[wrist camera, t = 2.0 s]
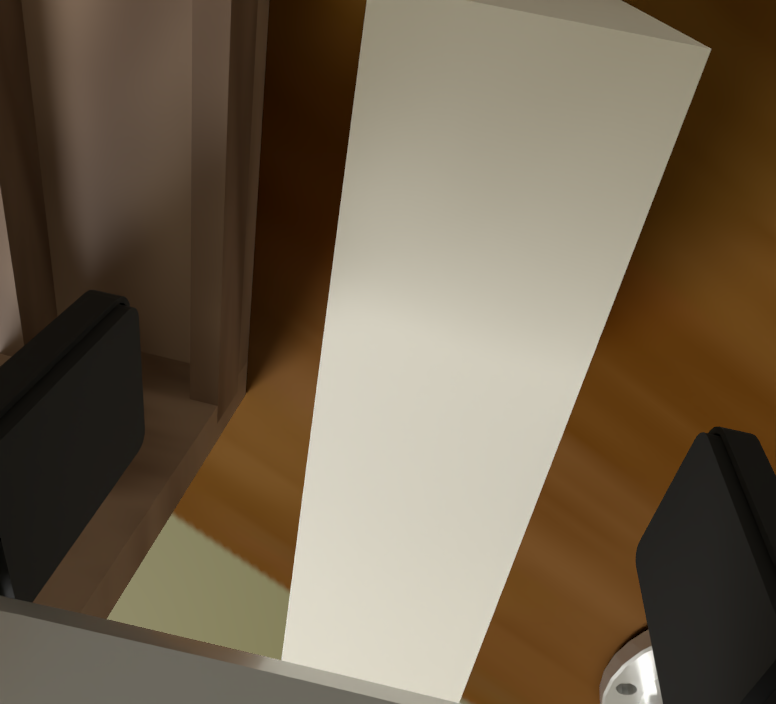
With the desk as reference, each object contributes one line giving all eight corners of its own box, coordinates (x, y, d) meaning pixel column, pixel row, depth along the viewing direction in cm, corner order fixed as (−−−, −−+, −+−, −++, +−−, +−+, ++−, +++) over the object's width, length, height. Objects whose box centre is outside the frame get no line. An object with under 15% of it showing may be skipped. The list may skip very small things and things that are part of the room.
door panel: (603, -10, 18) (711, 48, 8) (480, 409, 25) (452, 719, 15) (440, -41, 18) (336, -26, 8) (365, 382, 26) (262, 670, 15)
